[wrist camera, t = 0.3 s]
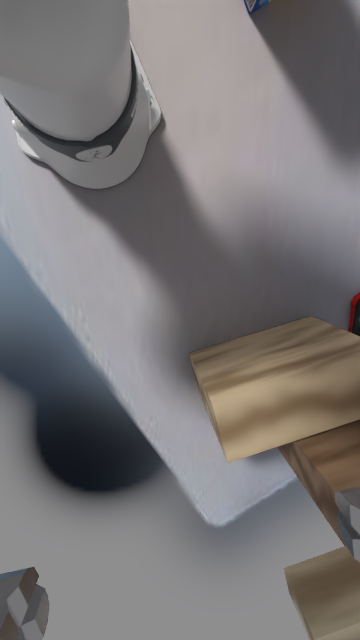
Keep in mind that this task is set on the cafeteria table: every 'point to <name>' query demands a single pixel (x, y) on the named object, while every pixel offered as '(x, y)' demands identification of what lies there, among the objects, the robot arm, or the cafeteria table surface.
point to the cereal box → (255, 4)
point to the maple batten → (327, 595)
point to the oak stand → (279, 385)
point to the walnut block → (327, 465)
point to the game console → (355, 316)
